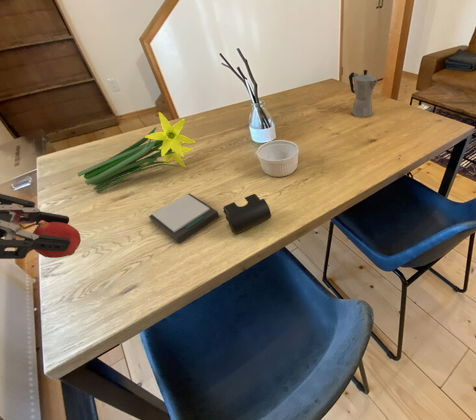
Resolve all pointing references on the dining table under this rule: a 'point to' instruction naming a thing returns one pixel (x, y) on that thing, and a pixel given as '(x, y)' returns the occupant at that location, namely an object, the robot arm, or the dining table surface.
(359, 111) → the coffeepot
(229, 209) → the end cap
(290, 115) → the dining table surface
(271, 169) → the ramekin
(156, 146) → the daffodil flowers
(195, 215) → the kitchen scale
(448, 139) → the dining table surface
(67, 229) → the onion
